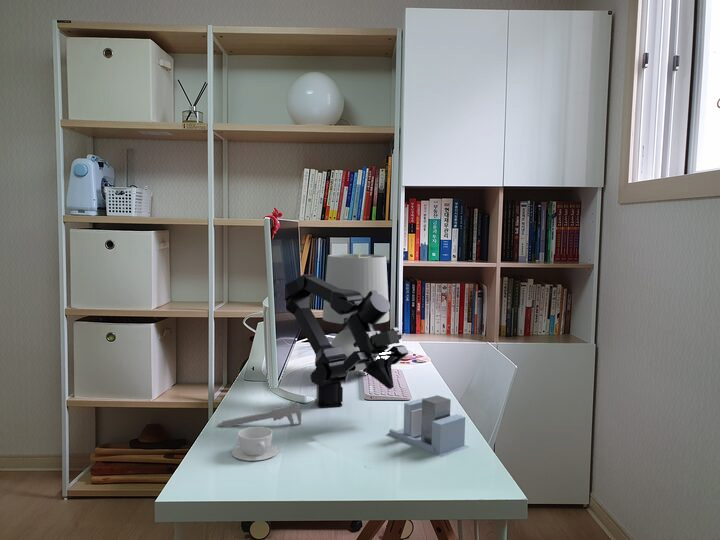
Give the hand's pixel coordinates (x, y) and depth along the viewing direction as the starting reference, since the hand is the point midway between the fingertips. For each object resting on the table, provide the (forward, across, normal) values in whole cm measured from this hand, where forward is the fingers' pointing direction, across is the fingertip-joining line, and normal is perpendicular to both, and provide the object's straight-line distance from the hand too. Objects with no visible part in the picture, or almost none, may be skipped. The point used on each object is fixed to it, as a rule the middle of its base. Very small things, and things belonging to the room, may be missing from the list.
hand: (391, 388), depth 144 cm
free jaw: (+13, -1, -2) cm, 13 cm away
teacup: (+3, -32, +15) cm, 36 cm away
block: (+17, -2, -6) cm, 18 cm away
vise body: (+16, -2, -4) cm, 17 cm away
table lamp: (-19, +27, +36) cm, 49 cm away
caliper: (-6, -22, +25) cm, 34 cm away
